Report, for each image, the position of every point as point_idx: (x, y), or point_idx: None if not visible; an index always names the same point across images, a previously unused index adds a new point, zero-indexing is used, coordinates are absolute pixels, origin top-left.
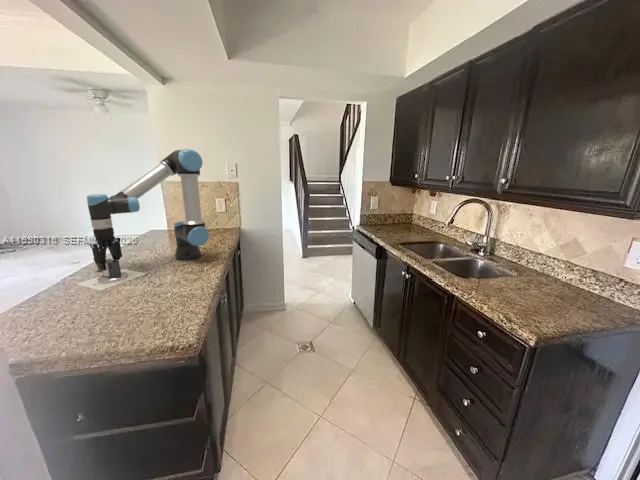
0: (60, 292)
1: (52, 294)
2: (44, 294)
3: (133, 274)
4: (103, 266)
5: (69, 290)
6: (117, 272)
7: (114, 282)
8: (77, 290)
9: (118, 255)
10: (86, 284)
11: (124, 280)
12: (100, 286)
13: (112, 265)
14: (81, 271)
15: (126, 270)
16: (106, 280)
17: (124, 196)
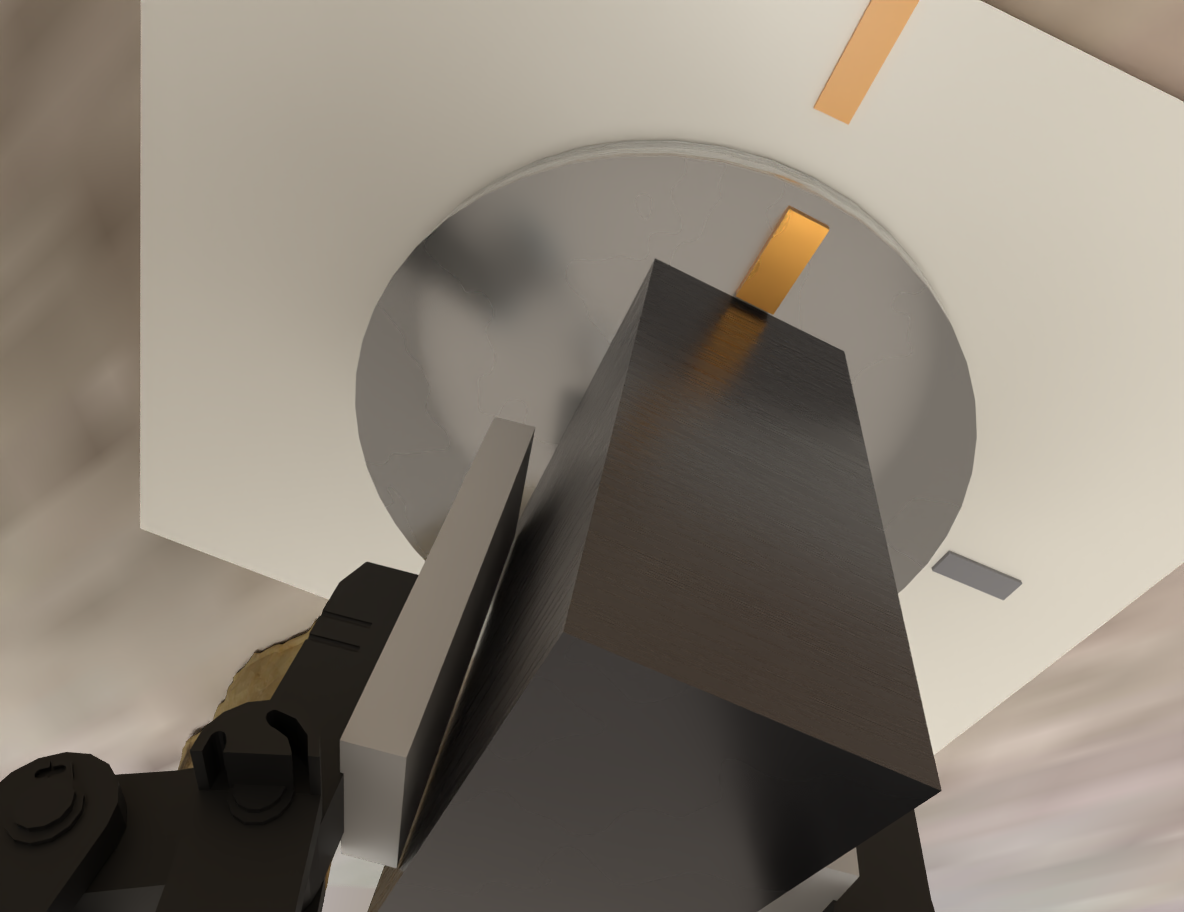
0: (1038, 821)
1: (1088, 856)
2: (1051, 906)
3: (345, 103)
4: (908, 832)
5: (987, 773)
6: (733, 375)
7: (949, 256)
8: (1026, 699)
9: (96, 902)
10: (931, 692)
11: (853, 37)
12: (1170, 427)
13: (858, 648)
14: (339, 882)
15: (181, 441)
16: (925, 459)
17: None
